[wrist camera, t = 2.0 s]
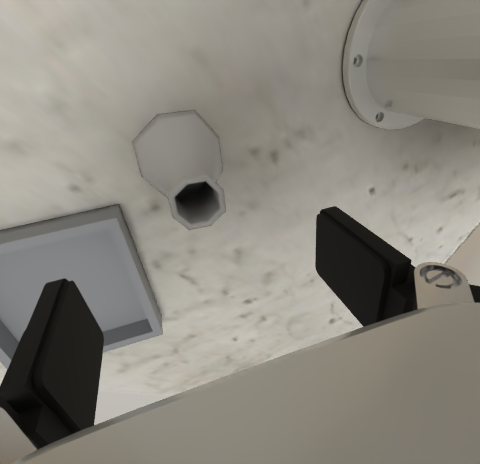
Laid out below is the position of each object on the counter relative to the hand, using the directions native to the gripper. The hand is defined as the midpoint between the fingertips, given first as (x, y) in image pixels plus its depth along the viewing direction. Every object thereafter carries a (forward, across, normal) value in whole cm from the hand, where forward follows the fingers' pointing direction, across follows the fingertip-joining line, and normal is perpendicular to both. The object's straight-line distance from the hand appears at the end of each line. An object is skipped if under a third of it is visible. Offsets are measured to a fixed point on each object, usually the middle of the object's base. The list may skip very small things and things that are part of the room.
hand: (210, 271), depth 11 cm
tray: (+16, +12, +10) cm, 22 cm away
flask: (+16, -1, 0) cm, 16 cm away
